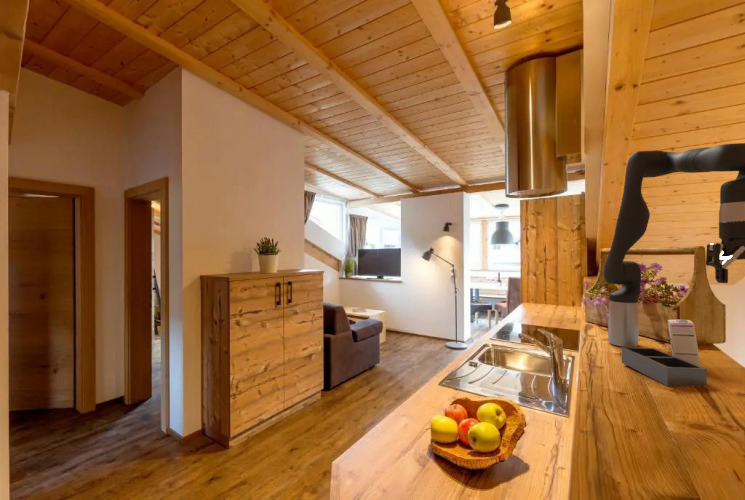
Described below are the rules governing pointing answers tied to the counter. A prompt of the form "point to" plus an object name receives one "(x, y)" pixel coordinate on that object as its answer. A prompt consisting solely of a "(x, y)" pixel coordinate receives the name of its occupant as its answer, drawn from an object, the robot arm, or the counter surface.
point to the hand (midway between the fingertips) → (740, 282)
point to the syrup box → (684, 340)
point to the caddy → (664, 367)
